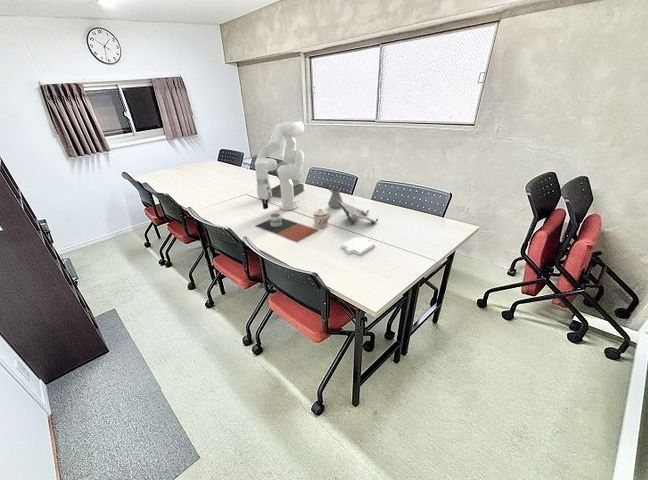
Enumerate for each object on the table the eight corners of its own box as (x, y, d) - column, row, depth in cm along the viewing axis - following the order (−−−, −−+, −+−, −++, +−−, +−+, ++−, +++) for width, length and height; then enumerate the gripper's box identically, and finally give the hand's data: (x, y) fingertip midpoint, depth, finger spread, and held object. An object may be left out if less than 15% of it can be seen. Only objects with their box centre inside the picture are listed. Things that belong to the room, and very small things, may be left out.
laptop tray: (373, 233, 184) (380, 221, 180) (343, 223, 177) (350, 209, 173) (360, 220, 203) (366, 208, 199) (333, 210, 196) (338, 197, 192)
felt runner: (276, 216, 205) (276, 216, 204) (318, 230, 181) (318, 230, 180) (255, 226, 193) (255, 225, 193) (296, 241, 169) (296, 241, 169)
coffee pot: (346, 207, 210) (347, 187, 202) (334, 211, 206) (334, 190, 198) (329, 200, 226) (329, 181, 218) (317, 203, 222) (317, 184, 214)
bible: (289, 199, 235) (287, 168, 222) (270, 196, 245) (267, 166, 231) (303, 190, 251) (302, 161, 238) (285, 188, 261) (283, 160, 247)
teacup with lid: (319, 229, 181) (318, 212, 175) (311, 225, 188) (310, 208, 182) (334, 224, 186) (334, 207, 180) (325, 220, 193) (325, 204, 187)
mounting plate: (357, 257, 149) (357, 254, 148) (338, 249, 158) (338, 246, 157) (377, 244, 159) (377, 241, 158) (358, 238, 168) (358, 235, 167)
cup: (276, 221, 197) (275, 212, 194) (284, 223, 192) (283, 214, 189) (267, 224, 193) (266, 215, 189) (275, 227, 188) (274, 218, 184)
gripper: (274, 181, 180) (277, 209, 190) (259, 178, 189) (262, 204, 199) (265, 184, 176) (268, 212, 185) (251, 180, 185) (254, 207, 194)
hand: (265, 208), depth 192 cm, fingers closed
